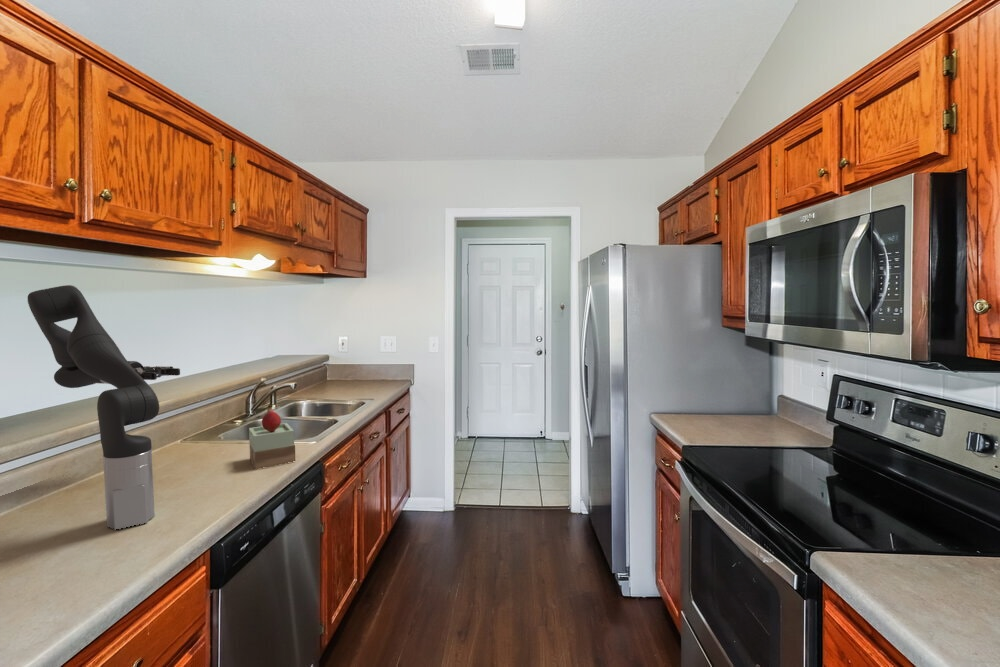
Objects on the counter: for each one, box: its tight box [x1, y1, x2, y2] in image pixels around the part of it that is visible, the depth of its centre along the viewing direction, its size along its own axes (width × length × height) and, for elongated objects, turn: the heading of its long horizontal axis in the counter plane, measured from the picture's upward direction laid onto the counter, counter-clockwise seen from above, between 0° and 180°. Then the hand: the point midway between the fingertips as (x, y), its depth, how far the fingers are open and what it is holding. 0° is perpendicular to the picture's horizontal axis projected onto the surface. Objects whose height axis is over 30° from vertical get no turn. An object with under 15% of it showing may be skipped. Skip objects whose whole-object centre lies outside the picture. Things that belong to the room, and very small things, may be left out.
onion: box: [261, 408, 282, 432], centre depth 155 cm, size 6×6×8 cm
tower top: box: [248, 422, 295, 452], centre depth 155 cm, size 12×12×5 cm
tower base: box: [249, 444, 296, 470], centre depth 155 cm, size 12×12×6 cm
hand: (167, 373), depth 140 cm, fingers open, 8 cm apart
